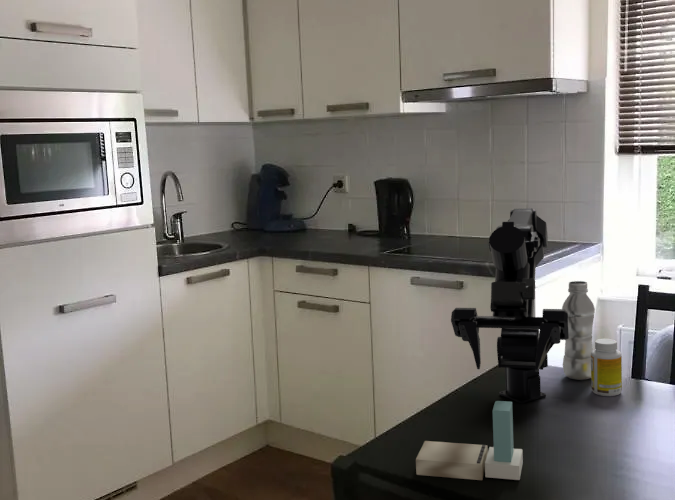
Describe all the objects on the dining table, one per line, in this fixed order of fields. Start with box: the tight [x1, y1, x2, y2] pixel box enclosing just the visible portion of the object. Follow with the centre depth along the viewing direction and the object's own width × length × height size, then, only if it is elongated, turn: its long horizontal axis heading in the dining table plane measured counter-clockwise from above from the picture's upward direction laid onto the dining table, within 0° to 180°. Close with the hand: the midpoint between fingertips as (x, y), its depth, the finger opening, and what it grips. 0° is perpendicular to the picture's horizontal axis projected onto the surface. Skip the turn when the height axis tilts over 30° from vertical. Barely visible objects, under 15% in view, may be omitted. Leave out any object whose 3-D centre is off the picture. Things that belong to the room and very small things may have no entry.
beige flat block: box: [415, 440, 489, 481], centre depth 116 cm, size 10×7×3 cm
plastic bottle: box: [561, 280, 596, 381], centre depth 151 cm, size 6×7×20 cm
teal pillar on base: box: [484, 400, 524, 481], centre depth 113 cm, size 5×6×10 cm
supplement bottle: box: [590, 338, 623, 397], centre depth 143 cm, size 6×6×10 cm
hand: (507, 369), depth 119 cm, fingers open, 9 cm apart
